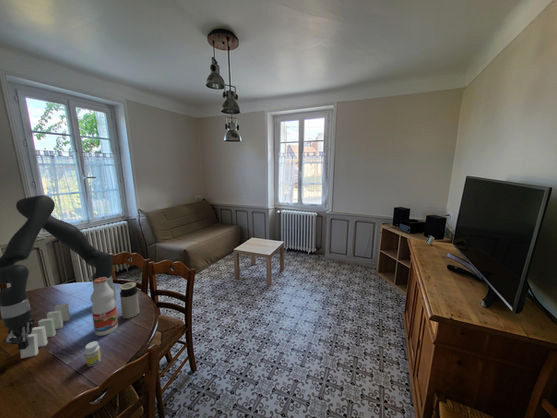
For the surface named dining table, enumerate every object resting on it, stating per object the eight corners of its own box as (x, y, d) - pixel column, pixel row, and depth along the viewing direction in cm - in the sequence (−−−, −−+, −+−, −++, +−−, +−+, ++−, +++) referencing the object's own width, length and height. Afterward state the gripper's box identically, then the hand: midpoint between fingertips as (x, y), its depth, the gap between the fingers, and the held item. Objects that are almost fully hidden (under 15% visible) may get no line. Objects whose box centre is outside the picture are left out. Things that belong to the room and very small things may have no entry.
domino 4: (51, 327, 111) (49, 311, 110) (63, 325, 113) (61, 310, 111) (49, 330, 109) (46, 314, 108) (61, 328, 111) (58, 312, 109)
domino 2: (53, 336, 105) (50, 320, 104) (41, 338, 104) (37, 321, 102) (56, 333, 107) (53, 317, 105) (43, 335, 105) (40, 319, 104)
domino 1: (24, 355, 94) (22, 335, 94) (38, 352, 96) (36, 333, 95) (20, 358, 93) (19, 338, 92) (35, 355, 94) (33, 335, 93)
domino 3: (34, 345, 100) (31, 328, 98) (47, 342, 101) (44, 325, 100) (31, 348, 98) (28, 330, 97) (45, 345, 100) (41, 328, 98)
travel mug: (126, 321, 117) (123, 290, 114) (120, 315, 121) (116, 286, 118) (142, 313, 124) (139, 284, 121) (135, 308, 128) (132, 280, 125)
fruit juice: (120, 321, 117) (114, 273, 112) (115, 333, 108) (109, 281, 104) (98, 326, 113) (91, 276, 108) (92, 338, 104) (84, 285, 100)
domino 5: (59, 320, 117) (56, 305, 115) (70, 318, 118) (67, 303, 117) (57, 322, 115) (54, 307, 113) (68, 320, 116) (65, 305, 115)
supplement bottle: (92, 357, 94) (90, 340, 93) (104, 356, 94) (101, 340, 93) (83, 367, 89) (81, 349, 88) (95, 366, 90) (93, 348, 88)
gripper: (15, 320, 83) (23, 358, 86) (39, 300, 95) (46, 335, 98) (-12, 324, 81) (-2, 363, 84) (17, 303, 93) (24, 338, 96)
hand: (24, 348), depth 91 cm, fingers closed
